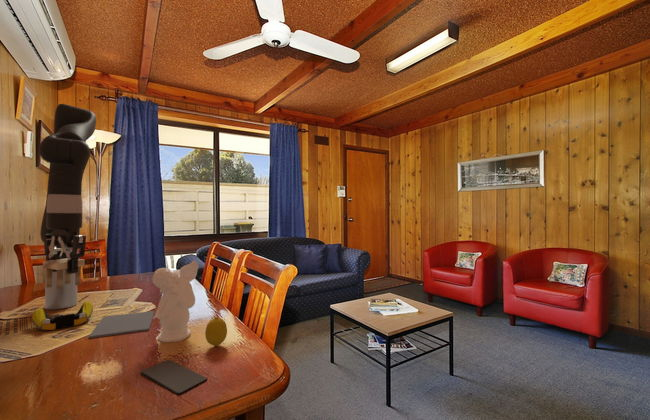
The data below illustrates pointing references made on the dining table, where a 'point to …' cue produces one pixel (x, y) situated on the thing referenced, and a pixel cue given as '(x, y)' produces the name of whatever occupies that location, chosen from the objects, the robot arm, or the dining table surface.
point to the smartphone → (173, 377)
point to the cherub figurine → (175, 301)
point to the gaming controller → (62, 318)
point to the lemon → (216, 331)
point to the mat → (123, 324)
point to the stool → (61, 272)
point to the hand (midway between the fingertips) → (64, 272)
